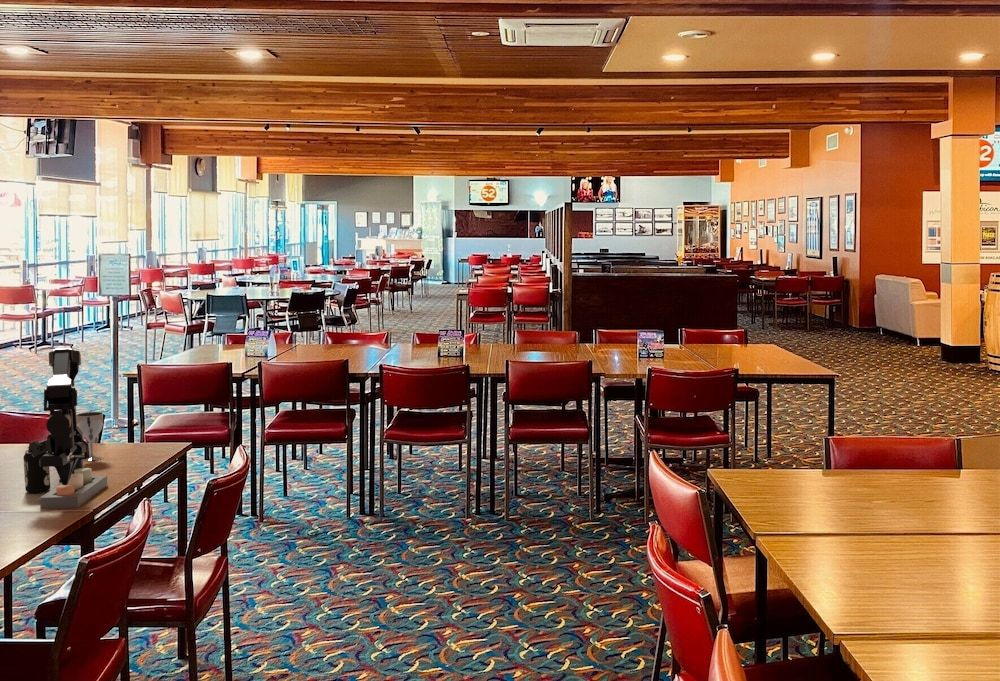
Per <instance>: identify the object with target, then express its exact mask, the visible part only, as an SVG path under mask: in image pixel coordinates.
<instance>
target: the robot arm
mask: <svg viewBox="0 0 1000 681" xmlns="http://www.w3.org/2000/svg"><path fill="white" fill-rule="evenodd" d="M81 355H82V354H81V351H79V350H76V349H73V348H70V347H59V348H58V347H57V348H55V349H54V348H53V349H52V350H51V351H49V352H48V366H49V367H50V368H52V377H51V378H50V379H48V380H47V382H46V387H45V388H44V389H43V412H49V417H48V418H47V421H46V424H45V425H46V426H45V427H46V430H47V431H48V434H46V435H47V436H46V439H43V440H41V441H38V440H34V441H31V442H28V443H29V444H28V447H27V450H28V453H31V454H32V456H33V457H36V456H37V455H39V454H41V453H44V452H47V454H45V455H43V456H42V457H41V458H40V459H39V466H40V467H49V468H50V467H53V468H55V470H56V472H57V474H58V477H59V480H58V482H61V483H62V485H67V484H68V482H69V479H70V477H71V474H74V470H75V469H79V468H84V461H83V459H87V458H90V445H89V442H88V440H87V439H86V438H84V437H85V436H84V435H83V432H82V431H81V429H80V428H79V427H78V424H77V406H78V390H77V389H76V386H75V378H76V377H77V376H78V374H79V371H80V366H82V356H81Z"/></svg>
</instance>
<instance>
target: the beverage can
mask: <svg viewBox="0 0 1000 681" xmlns="http://www.w3.org/2000/svg"><path fill="white" fill-rule="evenodd" d="M28 450H29V449H27V450H24V455H23V458H22V459H23V470H24V472H23V473H24V484H25V485H24V487H25V490H24V491H25V492H27V493H28V494H30V493H31V494H32V495H33V494H34V495H37V494H38V493H39V494H44V493H48V492H49V491H50V489H51V473H50V467H40V466H39V459H40V458H41V457H42V456H43V455H45V454H47V452H44V453H41V454H39V455H37V456H36V457H33V456H32V454H31V453H28ZM43 492H44V493H43ZM31 494H30V495H31Z"/></svg>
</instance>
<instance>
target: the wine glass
mask: <svg viewBox="0 0 1000 681" xmlns="http://www.w3.org/2000/svg"><path fill="white" fill-rule="evenodd" d="M76 415H77V426H78V427H79V428H80V429H81V431H82V432H83V437H85V439H86V441H87V443H88V444H89V455H90V458H87V459H83V462H93V461H92V460H97V461H100V460H99V459H101V458H102V457H103V456H97V455H94V448H93V447H94V441H95V440H96V438H97V436H98V435H99V433H101V431H102V428H103V423H104V415H103V412H101V411H87V412H86V411H85V412H79V413H76ZM101 460H102V459H101Z"/></svg>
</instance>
